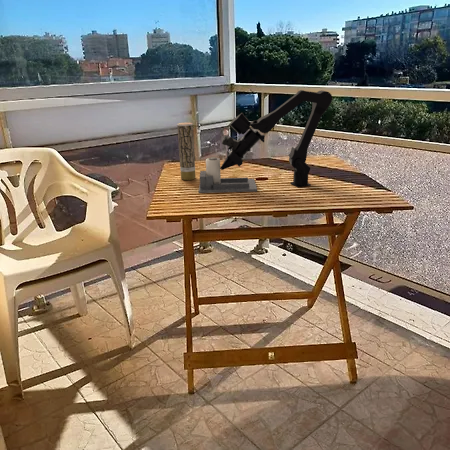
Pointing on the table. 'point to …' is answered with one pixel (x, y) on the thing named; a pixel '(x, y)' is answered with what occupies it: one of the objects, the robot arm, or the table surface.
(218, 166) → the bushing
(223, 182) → the jig
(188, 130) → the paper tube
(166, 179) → the table surface
